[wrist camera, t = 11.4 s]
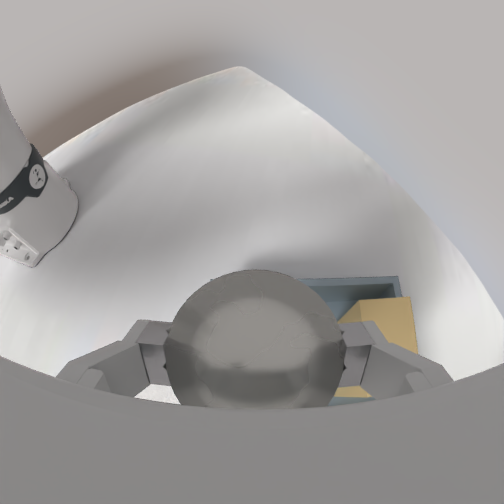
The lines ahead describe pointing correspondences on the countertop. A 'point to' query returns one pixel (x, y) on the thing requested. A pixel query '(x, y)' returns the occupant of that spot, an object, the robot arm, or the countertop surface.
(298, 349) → the tin
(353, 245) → the countertop surface
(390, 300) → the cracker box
